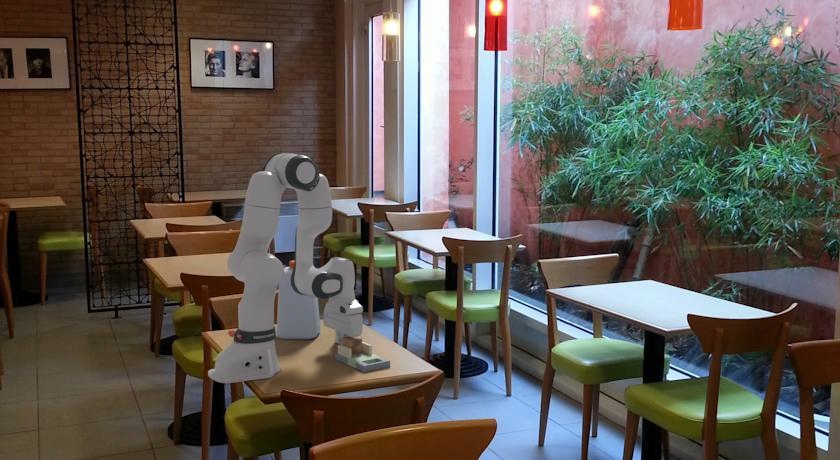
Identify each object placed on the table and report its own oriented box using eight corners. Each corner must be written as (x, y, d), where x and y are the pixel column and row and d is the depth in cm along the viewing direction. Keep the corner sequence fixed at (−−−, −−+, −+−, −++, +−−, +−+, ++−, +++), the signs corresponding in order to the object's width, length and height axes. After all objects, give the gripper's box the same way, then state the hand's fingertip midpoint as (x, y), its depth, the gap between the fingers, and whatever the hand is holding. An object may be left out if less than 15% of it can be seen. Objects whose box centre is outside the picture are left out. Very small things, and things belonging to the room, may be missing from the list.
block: (349, 355, 277) (349, 340, 277) (341, 352, 281) (341, 337, 281) (362, 352, 280) (362, 338, 280) (354, 349, 284) (354, 335, 284)
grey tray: (364, 372, 266) (364, 356, 265) (335, 358, 280) (335, 344, 279) (390, 366, 272) (390, 351, 271) (360, 354, 286) (360, 339, 285)
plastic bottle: (282, 329, 319) (281, 257, 315) (321, 330, 318) (321, 258, 314) (274, 340, 304) (272, 264, 300) (315, 340, 303) (314, 264, 300)
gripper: (318, 300, 290) (319, 338, 292) (349, 311, 274) (349, 351, 276) (334, 297, 294) (334, 336, 296) (365, 308, 278) (366, 348, 279)
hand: (342, 343), depth 285 cm, fingers closed
